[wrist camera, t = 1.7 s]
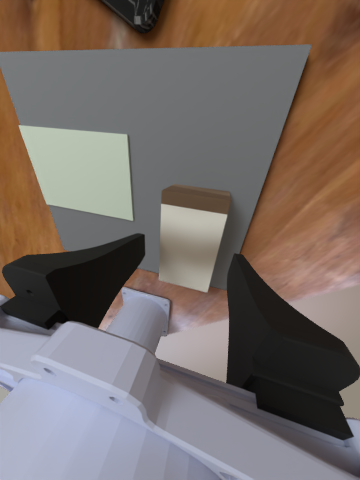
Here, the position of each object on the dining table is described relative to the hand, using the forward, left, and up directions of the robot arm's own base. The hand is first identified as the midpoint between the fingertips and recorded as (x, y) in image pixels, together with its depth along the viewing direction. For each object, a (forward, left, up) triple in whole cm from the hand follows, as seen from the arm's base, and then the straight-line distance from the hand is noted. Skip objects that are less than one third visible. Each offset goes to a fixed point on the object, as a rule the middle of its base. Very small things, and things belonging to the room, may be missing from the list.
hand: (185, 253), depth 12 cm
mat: (+3, +7, -5) cm, 9 cm away
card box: (0, 0, -4) cm, 4 cm away
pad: (+4, +13, -4) cm, 14 cm away
